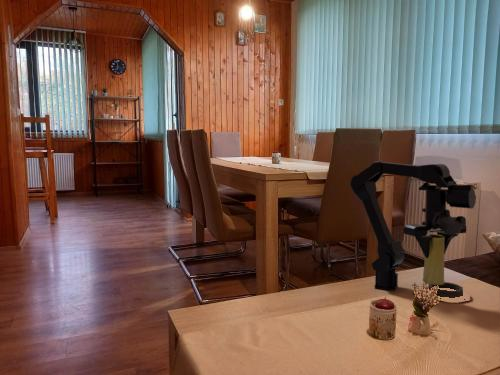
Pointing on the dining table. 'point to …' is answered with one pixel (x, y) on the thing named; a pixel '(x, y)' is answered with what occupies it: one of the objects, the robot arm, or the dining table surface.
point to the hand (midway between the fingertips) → (434, 256)
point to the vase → (435, 262)
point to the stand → (449, 293)
